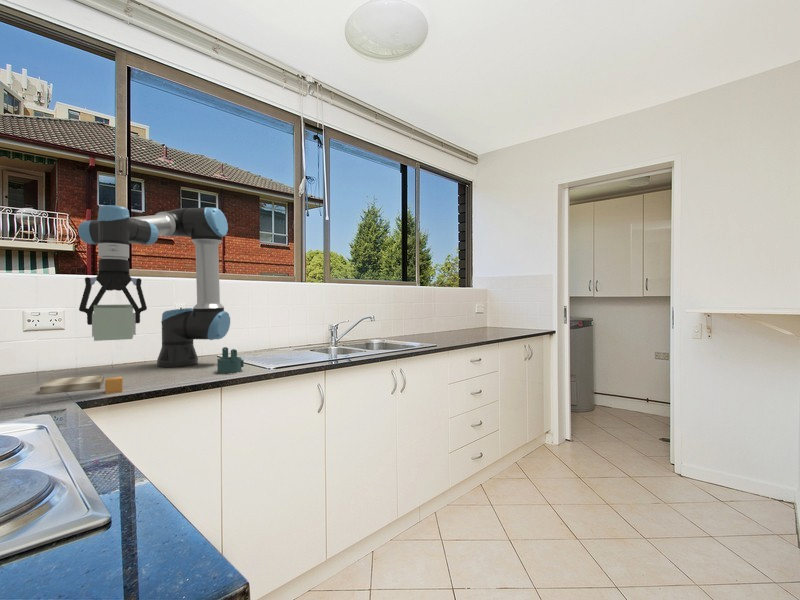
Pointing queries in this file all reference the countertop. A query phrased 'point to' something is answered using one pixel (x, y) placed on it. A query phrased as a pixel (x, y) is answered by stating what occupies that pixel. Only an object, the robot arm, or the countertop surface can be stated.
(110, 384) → the block
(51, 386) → the birch board
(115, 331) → the sage green cube
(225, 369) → the bracket
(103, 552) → the countertop surface
